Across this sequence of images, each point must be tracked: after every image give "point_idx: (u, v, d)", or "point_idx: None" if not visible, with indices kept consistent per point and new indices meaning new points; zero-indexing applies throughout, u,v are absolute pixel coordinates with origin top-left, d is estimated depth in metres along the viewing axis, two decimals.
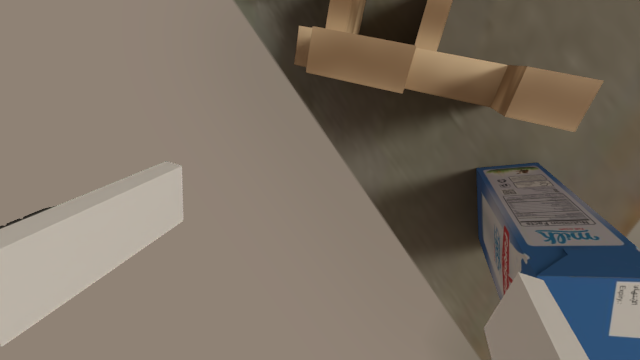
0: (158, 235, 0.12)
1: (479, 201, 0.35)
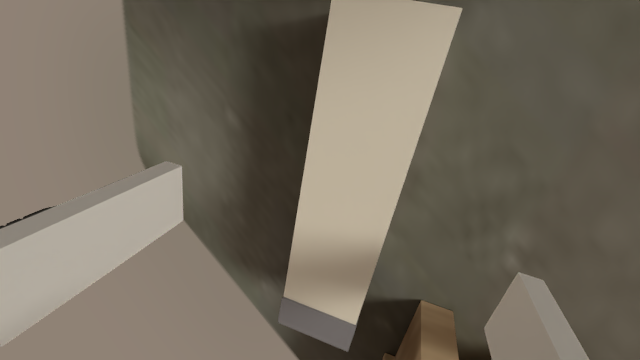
0: (158, 235, 0.12)
1: None
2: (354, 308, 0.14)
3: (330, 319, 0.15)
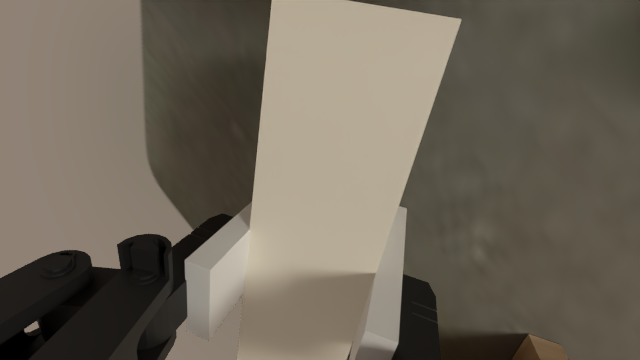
0: None
1: None
2: None
3: None
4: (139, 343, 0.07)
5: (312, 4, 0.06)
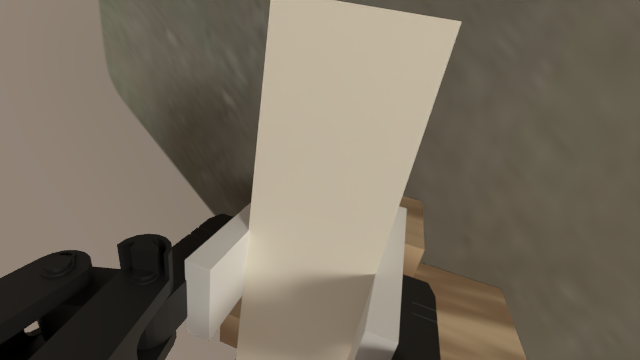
0: None
1: None
2: None
3: None
4: (139, 343, 0.07)
5: (311, 6, 0.06)
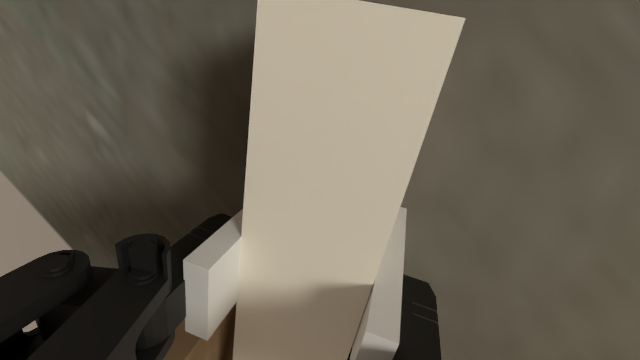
0: None
1: None
2: None
3: None
4: (138, 343, 0.07)
5: (301, 1, 0.06)
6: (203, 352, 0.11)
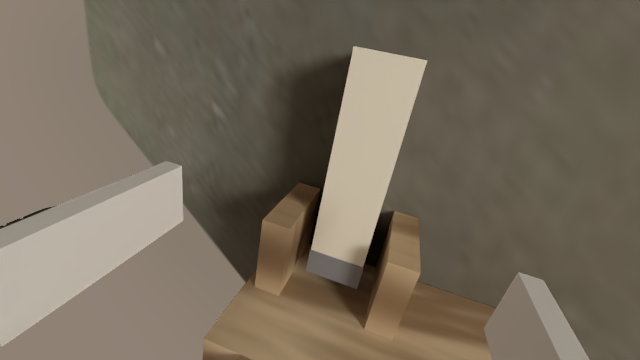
0: (158, 235, 0.12)
1: None
2: (362, 254, 0.21)
3: (344, 265, 0.21)
4: None
5: (369, 53, 0.16)
6: (298, 227, 0.21)
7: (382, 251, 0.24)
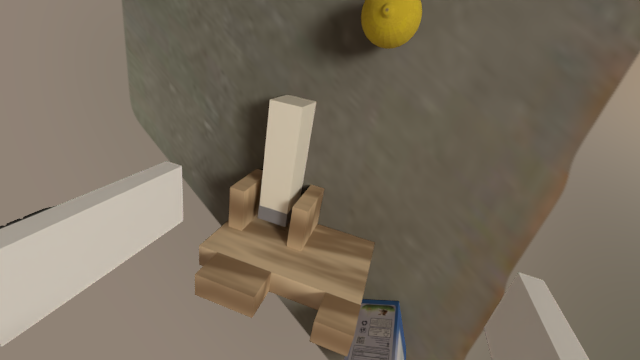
0: (158, 235, 0.12)
1: None
2: (285, 206, 0.38)
3: (277, 213, 0.39)
4: None
5: (277, 102, 0.33)
6: (251, 192, 0.39)
7: None
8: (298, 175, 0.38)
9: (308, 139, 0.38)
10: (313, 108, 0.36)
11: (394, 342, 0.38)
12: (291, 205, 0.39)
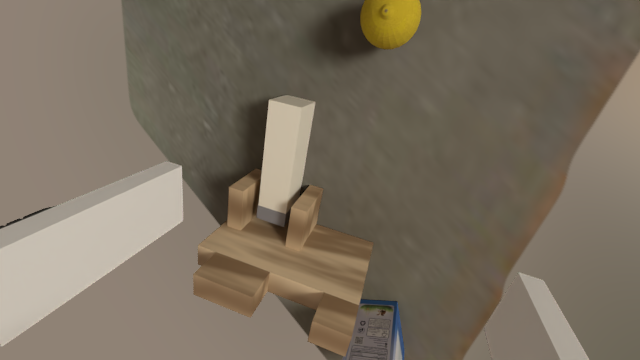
0: (158, 235, 0.12)
1: None
2: (284, 206, 0.38)
3: (276, 213, 0.39)
4: None
5: (276, 103, 0.33)
6: (250, 192, 0.39)
7: None
8: (297, 175, 0.38)
9: (307, 139, 0.38)
10: (312, 108, 0.37)
11: (392, 342, 0.38)
12: (290, 205, 0.39)
